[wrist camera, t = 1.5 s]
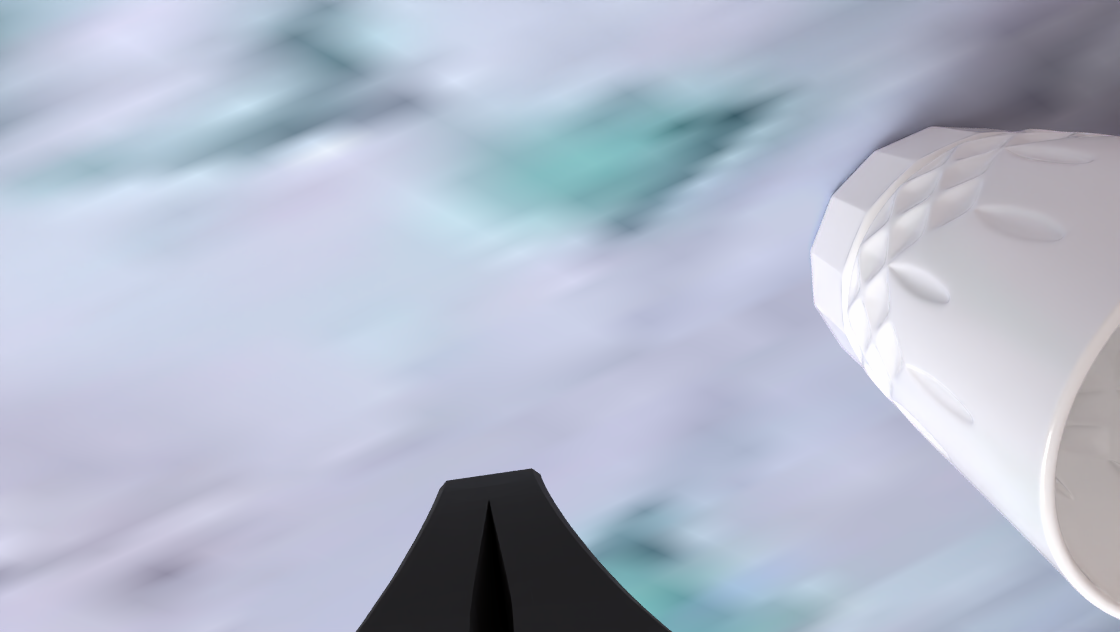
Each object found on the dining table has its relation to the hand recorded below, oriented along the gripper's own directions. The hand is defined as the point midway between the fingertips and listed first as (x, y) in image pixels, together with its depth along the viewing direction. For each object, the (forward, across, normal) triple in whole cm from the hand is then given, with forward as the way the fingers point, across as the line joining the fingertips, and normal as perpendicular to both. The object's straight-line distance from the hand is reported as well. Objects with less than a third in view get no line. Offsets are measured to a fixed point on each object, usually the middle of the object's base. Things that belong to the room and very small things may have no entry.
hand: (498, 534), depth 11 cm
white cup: (+10, -12, 0) cm, 16 cm away
